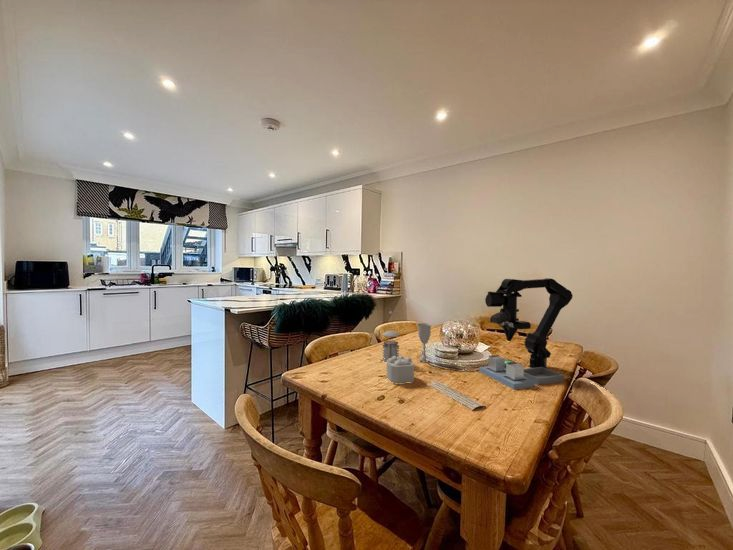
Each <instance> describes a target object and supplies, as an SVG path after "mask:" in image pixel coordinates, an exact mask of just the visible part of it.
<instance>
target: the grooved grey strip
mask: <svg viewBox="0 0 733 550" xmlns="http://www.w3.org/2000/svg"><path fill="white" fill-rule="evenodd" d="M442 383H443V382H440V381H437V380H433V381H430V382H429V383H427V384H428V385H429V386H431V387H433V388H435V389H436V390H438V391H440V392H442V393H443V394H445V395H447V396H448V397H447V396H446V397H447V398H449V397H450V398H452V399H453V400H452V399H451V400H452V401H454V400H455V401H454V402H456V401H457V402H458V404H459V403H460V404H459V405H461V404H462V405H461V406H463V407H464V406H465V407H464V408H466V407H467V408H466V409H468V408H469V409H468V410H470V409H471V410H473V411H474V409H476V408H478V407H482V406H483V407H482V408H487V407H486V405H484V404H482V403H481V402H478V401H477V400H475V399H473V398H471V397H469V396H467V395H466V394H463V393H461V392H459V391H458V390H455V389H454V388H452V387H450V386H448V385H447V384H445V383H443V384H442ZM428 385H427V386H428ZM429 386H428V387H429ZM431 387H430V388H431ZM433 388H432V389H433ZM435 389H434V390H435ZM436 390H435V391H436ZM438 391H437V392H438ZM440 392H439V393H440ZM442 393H441V394H442ZM443 394H442V395H443ZM445 395H444V396H445ZM450 398H449V399H450ZM457 402H456V403H457ZM484 406H485V407H484ZM471 410H470V411H471Z"/></svg>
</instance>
